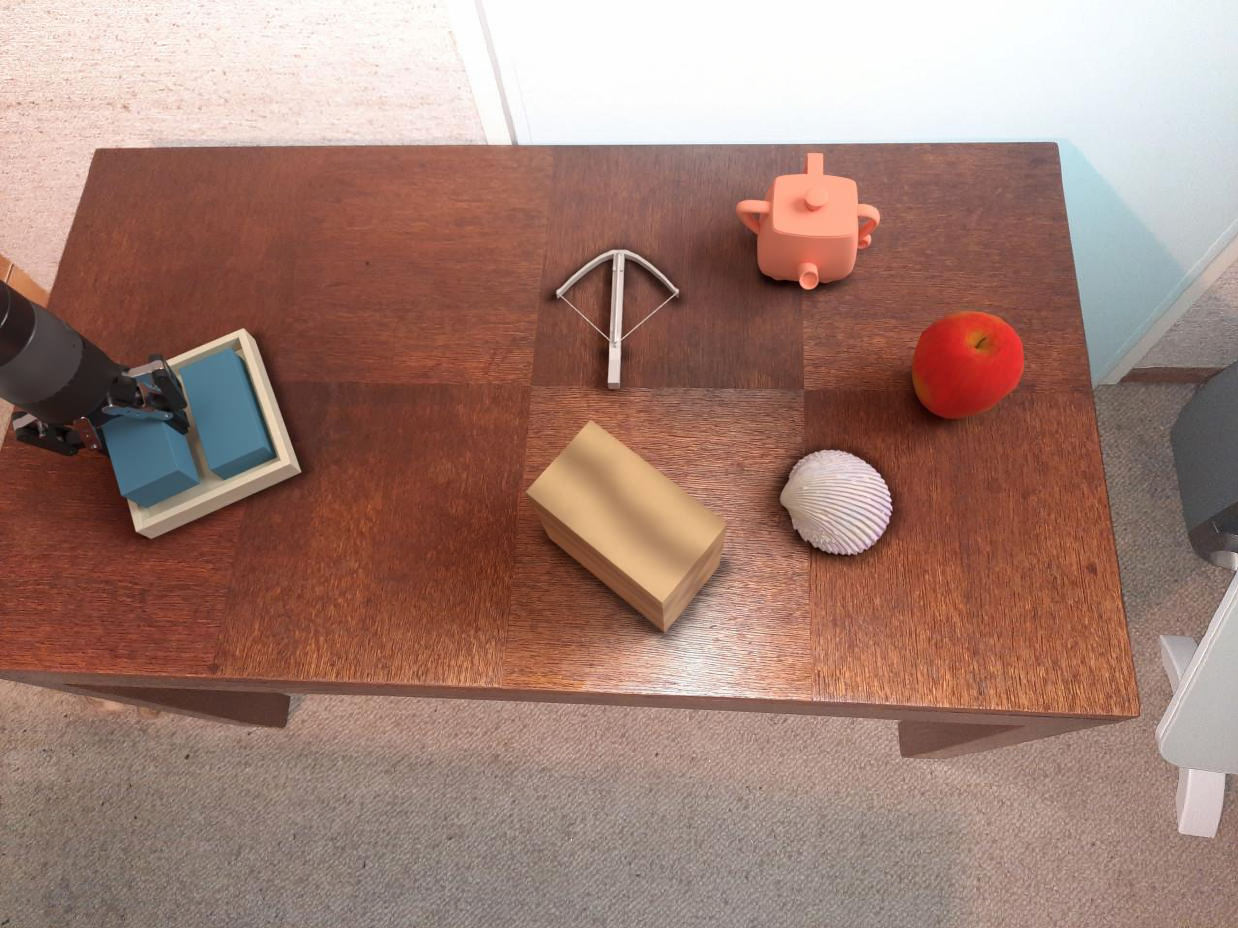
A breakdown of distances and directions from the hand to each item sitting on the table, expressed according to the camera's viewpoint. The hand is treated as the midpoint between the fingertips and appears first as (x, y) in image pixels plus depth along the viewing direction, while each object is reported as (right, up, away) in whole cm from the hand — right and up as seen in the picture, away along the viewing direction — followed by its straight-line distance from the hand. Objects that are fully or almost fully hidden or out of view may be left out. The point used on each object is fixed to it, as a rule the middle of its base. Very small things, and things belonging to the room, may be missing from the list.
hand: (154, 438), depth 84 cm
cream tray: (+3, 0, +3) cm, 5 cm away
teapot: (+64, +19, +6) cm, 67 cm away
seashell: (+66, -6, -3) cm, 66 cm away
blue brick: (+7, +2, +3) cm, 8 cm away
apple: (+77, +4, 0) cm, 77 cm away
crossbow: (+45, +12, +5) cm, 47 cm away
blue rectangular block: (0, -1, 0) cm, 1 cm away
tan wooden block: (+47, -11, -4) cm, 48 cm away
